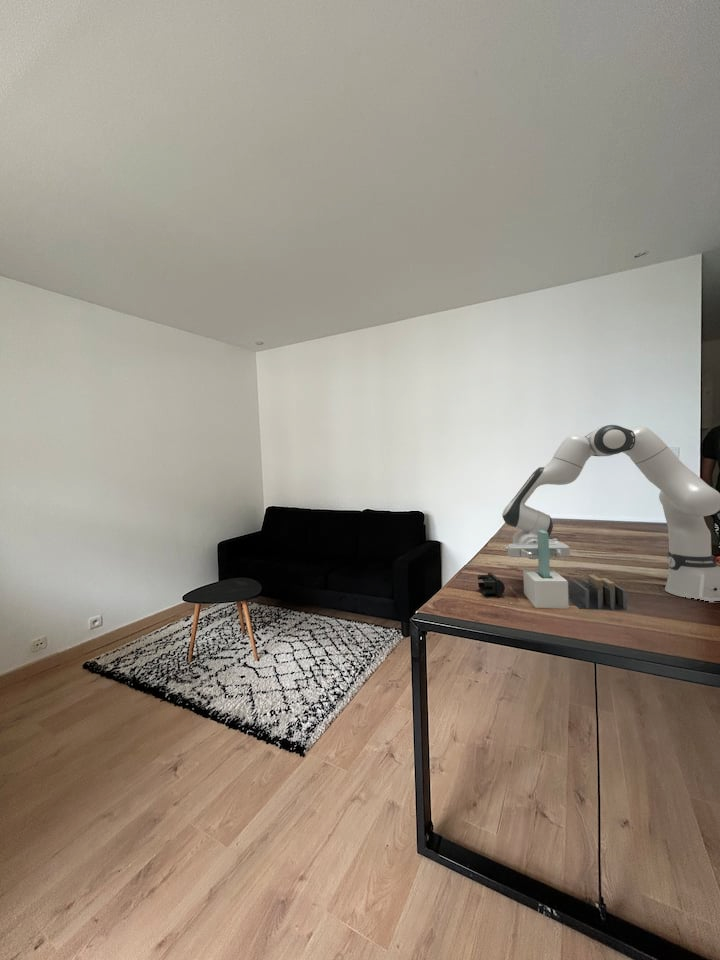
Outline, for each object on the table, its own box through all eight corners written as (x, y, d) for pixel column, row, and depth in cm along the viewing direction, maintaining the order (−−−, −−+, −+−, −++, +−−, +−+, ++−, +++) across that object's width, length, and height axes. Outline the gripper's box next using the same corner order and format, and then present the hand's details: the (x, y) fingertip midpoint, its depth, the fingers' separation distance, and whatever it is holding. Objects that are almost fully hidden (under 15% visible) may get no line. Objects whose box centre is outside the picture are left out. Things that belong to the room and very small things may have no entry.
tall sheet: (545, 597, 128) (542, 530, 128) (550, 604, 122) (548, 532, 122) (539, 597, 128) (537, 530, 128) (545, 604, 122) (542, 533, 122)
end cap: (505, 598, 133) (504, 579, 133) (485, 598, 133) (485, 580, 133) (496, 589, 143) (495, 572, 143) (478, 589, 143) (477, 572, 143)
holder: (553, 597, 131) (552, 569, 131) (568, 611, 117) (567, 581, 117) (524, 596, 133) (523, 569, 133) (535, 611, 119) (534, 580, 119)
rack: (611, 597, 128) (610, 577, 128) (635, 614, 114) (634, 591, 113) (562, 596, 131) (561, 576, 131) (579, 612, 116) (578, 590, 116)
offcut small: (606, 598, 124) (605, 578, 124) (615, 604, 119) (614, 583, 118) (600, 598, 125) (599, 578, 125) (609, 604, 119) (608, 583, 119)
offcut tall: (594, 598, 125) (594, 575, 125) (603, 604, 119) (602, 580, 119) (589, 598, 125) (588, 575, 125) (597, 604, 120) (596, 580, 119)
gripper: (503, 538, 139) (511, 546, 126) (560, 538, 136) (575, 545, 122) (503, 555, 140) (512, 564, 126) (561, 555, 136) (576, 564, 122)
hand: (544, 555), depth 124 cm, fingers open, 8 cm apart
